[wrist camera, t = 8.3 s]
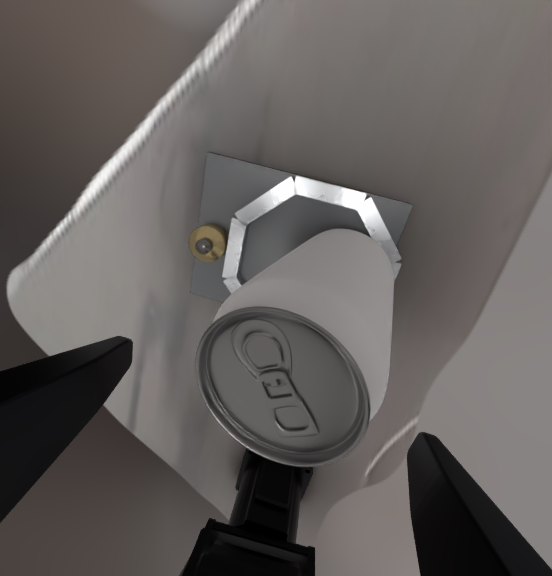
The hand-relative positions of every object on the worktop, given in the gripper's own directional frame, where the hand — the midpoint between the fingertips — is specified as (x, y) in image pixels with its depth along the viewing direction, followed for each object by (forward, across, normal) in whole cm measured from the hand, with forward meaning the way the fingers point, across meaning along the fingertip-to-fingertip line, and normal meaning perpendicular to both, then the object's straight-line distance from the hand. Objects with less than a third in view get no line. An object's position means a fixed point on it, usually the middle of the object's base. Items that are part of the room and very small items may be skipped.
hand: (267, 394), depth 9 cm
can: (+12, -2, 0) cm, 12 cm away
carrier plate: (+13, +1, 0) cm, 13 cm away
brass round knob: (+13, +7, 0) cm, 15 cm away
